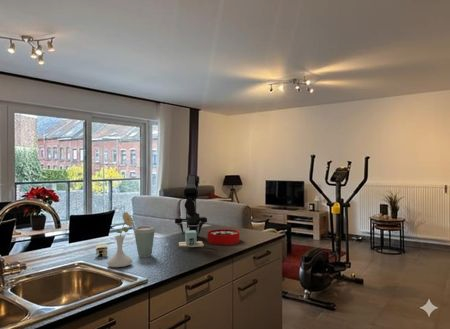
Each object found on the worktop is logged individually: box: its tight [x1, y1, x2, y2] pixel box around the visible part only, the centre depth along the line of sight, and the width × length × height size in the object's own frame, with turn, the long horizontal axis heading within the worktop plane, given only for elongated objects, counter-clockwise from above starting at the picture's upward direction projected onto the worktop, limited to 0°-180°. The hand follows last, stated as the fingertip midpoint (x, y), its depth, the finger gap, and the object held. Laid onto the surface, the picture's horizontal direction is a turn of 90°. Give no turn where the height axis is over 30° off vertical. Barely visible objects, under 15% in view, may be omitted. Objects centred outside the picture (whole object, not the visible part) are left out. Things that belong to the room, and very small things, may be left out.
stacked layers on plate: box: [95, 243, 109, 257], centre depth 177 cm, size 10×9×6 cm
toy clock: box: [207, 228, 240, 245], centre depth 212 cm, size 20×6×20 cm
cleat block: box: [184, 230, 198, 245], centre depth 201 cm, size 7×6×7 cm
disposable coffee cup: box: [133, 225, 156, 258], centre depth 176 cm, size 11×11×15 cm
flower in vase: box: [106, 211, 135, 268], centre depth 159 cm, size 13×11×25 cm
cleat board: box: [178, 238, 205, 249], centre depth 201 cm, size 10×14×4 cm
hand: (190, 234), depth 200 cm, fingers open, 9 cm apart
